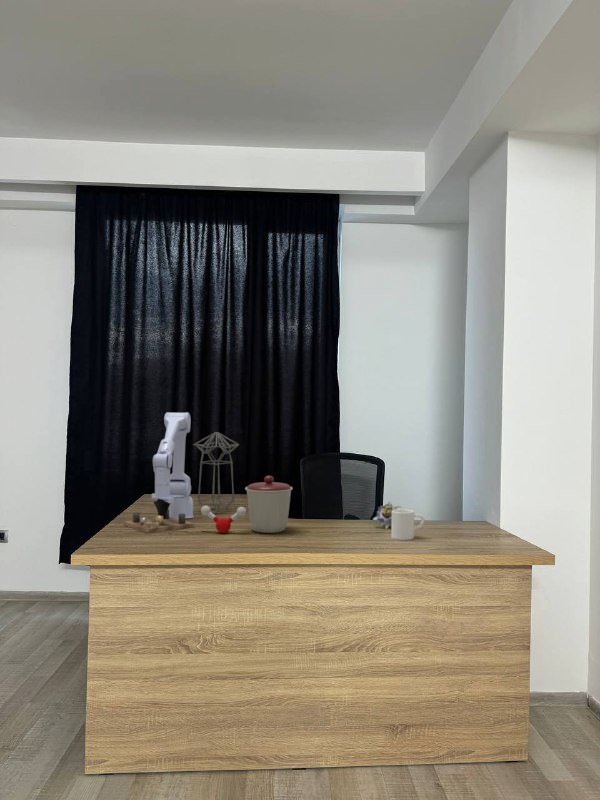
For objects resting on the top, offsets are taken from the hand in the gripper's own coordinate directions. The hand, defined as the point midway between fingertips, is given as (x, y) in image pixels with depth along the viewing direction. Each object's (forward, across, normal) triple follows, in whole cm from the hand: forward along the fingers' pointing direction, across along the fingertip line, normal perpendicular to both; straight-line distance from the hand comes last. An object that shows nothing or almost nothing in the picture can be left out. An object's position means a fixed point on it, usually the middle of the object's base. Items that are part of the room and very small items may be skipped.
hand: (162, 519), depth 284 cm
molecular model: (+3, +23, +13) cm, 27 cm away
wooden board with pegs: (+3, -3, 0) cm, 4 cm away
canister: (+3, +30, +29) cm, 42 cm away
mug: (+3, +71, +62) cm, 94 cm away
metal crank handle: (+2, 0, -4) cm, 5 cm away
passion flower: (+4, +52, +72) cm, 89 cm away
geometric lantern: (+4, -19, +36) cm, 41 cm away
